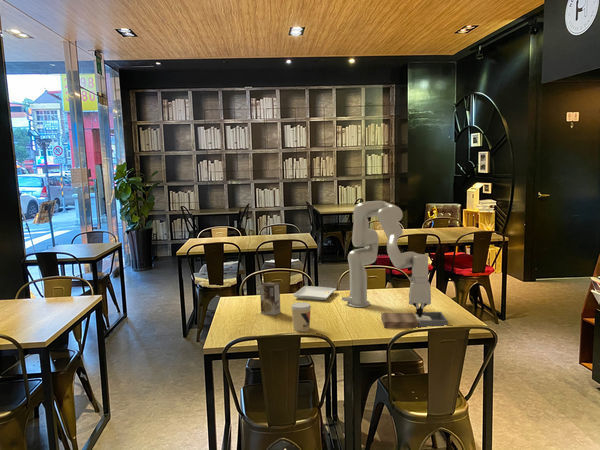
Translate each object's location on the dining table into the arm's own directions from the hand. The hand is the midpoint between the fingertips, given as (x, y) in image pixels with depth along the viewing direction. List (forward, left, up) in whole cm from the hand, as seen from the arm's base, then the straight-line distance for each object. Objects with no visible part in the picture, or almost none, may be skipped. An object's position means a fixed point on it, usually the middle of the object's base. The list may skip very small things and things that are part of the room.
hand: (419, 315), depth 235 cm
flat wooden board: (-10, 0, -4) cm, 11 cm away
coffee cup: (-58, -8, -4) cm, 59 cm away
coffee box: (-76, +17, -4) cm, 78 cm away
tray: (+5, 0, -4) cm, 6 cm away
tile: (+2, -1, -3) cm, 3 cm away
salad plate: (-53, +50, -4) cm, 73 cm away
